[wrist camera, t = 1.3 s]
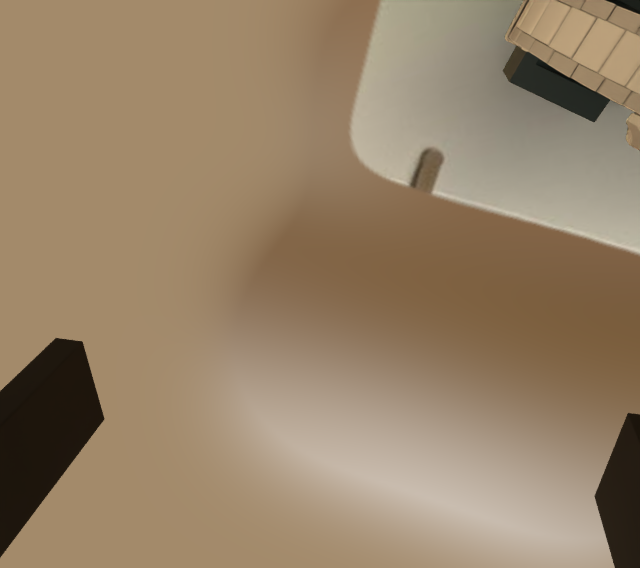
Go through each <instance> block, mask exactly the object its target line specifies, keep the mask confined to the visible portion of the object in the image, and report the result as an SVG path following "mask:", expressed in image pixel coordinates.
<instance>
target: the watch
mask: <svg viewBox="0 0 640 568" xmlns="http://www.w3.org/2000/svg"><path fill="white" fill-rule="evenodd" d="M505 39H506V41H508V42H510V43H512V44H514V45H516V48H515V50H514V51H513V53H512V55H511V57H510V59H509V60H508V62H507V64H506V66H505V67H504V69H503V72H504V74H505V75H506V77H507V79H508V81H509V82H511V83H513V84H515V85H517V86H519V87H521V88H523V89H525V90H527V91H529V92H532V93H534V94H536V95H538V96H540V97H542V98H544V99H546V100H548V101H550V102H552V103H555V104H557V105H559V106H561V107H563V108H565V109H567V110H569V111H571V112H573V113H575V114H578V115H580V116H582V117H584V118H586V119H588V120H590V121H592V122H595V121H596V120H597V118H598V117H599V115H600V114H601V112H602V111H603V110H604V108H605V107H606V105H607V104H608V102H609V101H610V100H612V101H614V102H616V103H618V104H620V105H623V106H625V107H627V108H628V109H630V110H632V111H634V112H635V113H632V114H631V115H630V116H629V118H628V119H627V121H626V124H627V125H628V131H627V135H626V140H627V142H628V143H629V145H631V146H632V147H634V148H636V149H638V150H639V151H640V0H524V1H523V3H522V5H521V7H520V8H519V10H518V12H517V14H516V16H515V18H514V20H513V21H512V23H511V25H510V27H509V29H508V31H507V33H506V35H505Z"/></svg>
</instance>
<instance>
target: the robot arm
mask: <svg viewBox="0 0 640 568" xmlns="http://www.w3.org/2000/svg"><path fill="white" fill-rule="evenodd" d="M103 420H104V416H103V412H102V409H101V405H100V402H99V398H98V395H97V391H96V388H95V384H94V381H93V377H92V374H91V370H90V367H89V363H88V359H87V356H86V352H85V349H84V346H83V342H82V341H74V340H67V339H59V338H56V339H55V340H54V341H52V343H50V344H49V345H48V346H47V347H46V348H45V349H44V350H43V351H42V352H41V353H40V354H39V355H38V356H37V357H36V358H35V359H34V360H33V361H31V362H30V363H29V364H28V365H27V366H26V367H25V368H24V369H23V370H22V371H21V372H20V373H19V374H18V375H17V376H16V377H15V378H14V379H13V380H12V381H10V383H9V384H7V385H6V386H5V387H4V388H3V389H2V390H1V391H0V557H1V556H2V554H3V553H4V552H5V551H6V549H7V548H8V547H9V545H10V544H11V542H12V541H13V540H14V539H15V537H16V536H17V535H18V533H19V532H20V531H21V529H22V528H23V526H24V525H25V524H26V523H27V521H28V520H29V519H30V517H31V516H32V515H33V513H34V512H35V511H36V509H37V508H38V507H39V505H40V504H41V503H42V501H43V500H44V499H45V497H46V496H47V495H48V493H49V492H50V491H51V489H52V488H53V487H54V485H55V484H56V483H57V481H58V480H59V479H60V477H61V476H62V475H63V474H64V472H65V471H66V470H67V468H68V467H69V465H70V464H71V463H72V462H73V460H74V459H75V458H76V456H77V455H78V454H79V452H80V451H81V449H82V448H83V447H84V446H85V444H86V443H87V442H88V440H89V439H90V438H91V436H92V435H93V434H94V432H95V431H96V430H97V428H98V427H99V426H100V424H101V423H102V422H103ZM595 499H596V503H597V506H598V510H599V513H600V517H601V520H602V524H603V527H604V531H605V534H606V538H607V542H608V545H609V549H610V552H611V556H612V559H613V563H614V566H615V568H640V415H639V414H631V413H628V414H627V417H626V419H625V422H624V424H623V427H622V429H621V432H620V434H619V437H618V439H617V442H616V444H615V447H614V449H613V452H612V454H611V456H610V459H609V461H608V464H607V466H606V469H605V472H604V474H603V476H602V479H601V482H600V484H599V487H598V489H597V491H596V494H595Z"/></svg>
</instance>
